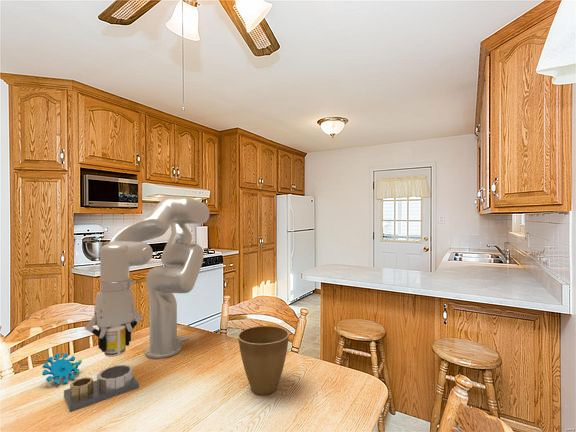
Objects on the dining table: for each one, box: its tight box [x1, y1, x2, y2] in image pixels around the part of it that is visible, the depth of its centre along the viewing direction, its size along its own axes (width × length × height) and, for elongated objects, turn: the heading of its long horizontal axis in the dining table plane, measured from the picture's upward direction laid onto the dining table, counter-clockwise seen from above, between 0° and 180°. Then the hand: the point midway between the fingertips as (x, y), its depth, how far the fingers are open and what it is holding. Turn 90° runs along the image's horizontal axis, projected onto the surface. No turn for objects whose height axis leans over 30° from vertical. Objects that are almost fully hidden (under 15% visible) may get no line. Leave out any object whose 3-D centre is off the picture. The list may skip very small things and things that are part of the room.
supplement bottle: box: [103, 324, 127, 358], centre depth 95 cm, size 6×6×10 cm
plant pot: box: [237, 325, 290, 396], centre depth 94 cm, size 15×15×16 cm
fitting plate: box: [63, 364, 140, 413], centre depth 92 cm, size 17×10×4 cm, turn 132°
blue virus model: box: [41, 352, 83, 386], centre depth 100 cm, size 11×6×10 cm
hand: (115, 346), depth 95 cm, fingers closed on supplement bottle, 5 cm apart
